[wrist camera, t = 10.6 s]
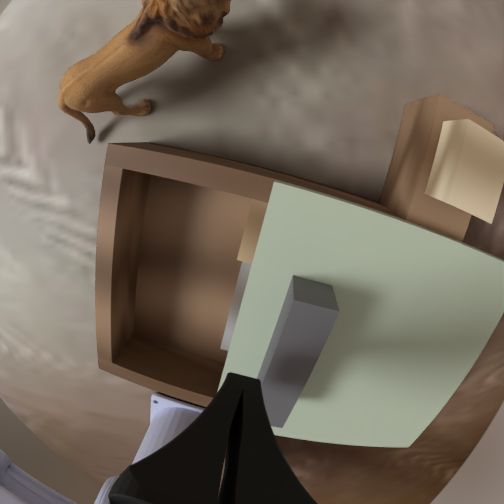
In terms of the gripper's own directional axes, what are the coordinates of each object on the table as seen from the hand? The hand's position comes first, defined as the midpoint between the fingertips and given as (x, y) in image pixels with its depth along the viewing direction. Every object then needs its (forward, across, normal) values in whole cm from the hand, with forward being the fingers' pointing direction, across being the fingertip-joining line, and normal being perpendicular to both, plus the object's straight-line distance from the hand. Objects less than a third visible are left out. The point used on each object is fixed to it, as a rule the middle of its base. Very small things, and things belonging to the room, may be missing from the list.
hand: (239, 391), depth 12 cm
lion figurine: (+11, +10, -14) cm, 20 cm away
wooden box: (+10, 0, -4) cm, 11 cm away
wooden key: (+5, -8, -12) cm, 15 cm away
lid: (+5, -7, 0) cm, 9 cm away
